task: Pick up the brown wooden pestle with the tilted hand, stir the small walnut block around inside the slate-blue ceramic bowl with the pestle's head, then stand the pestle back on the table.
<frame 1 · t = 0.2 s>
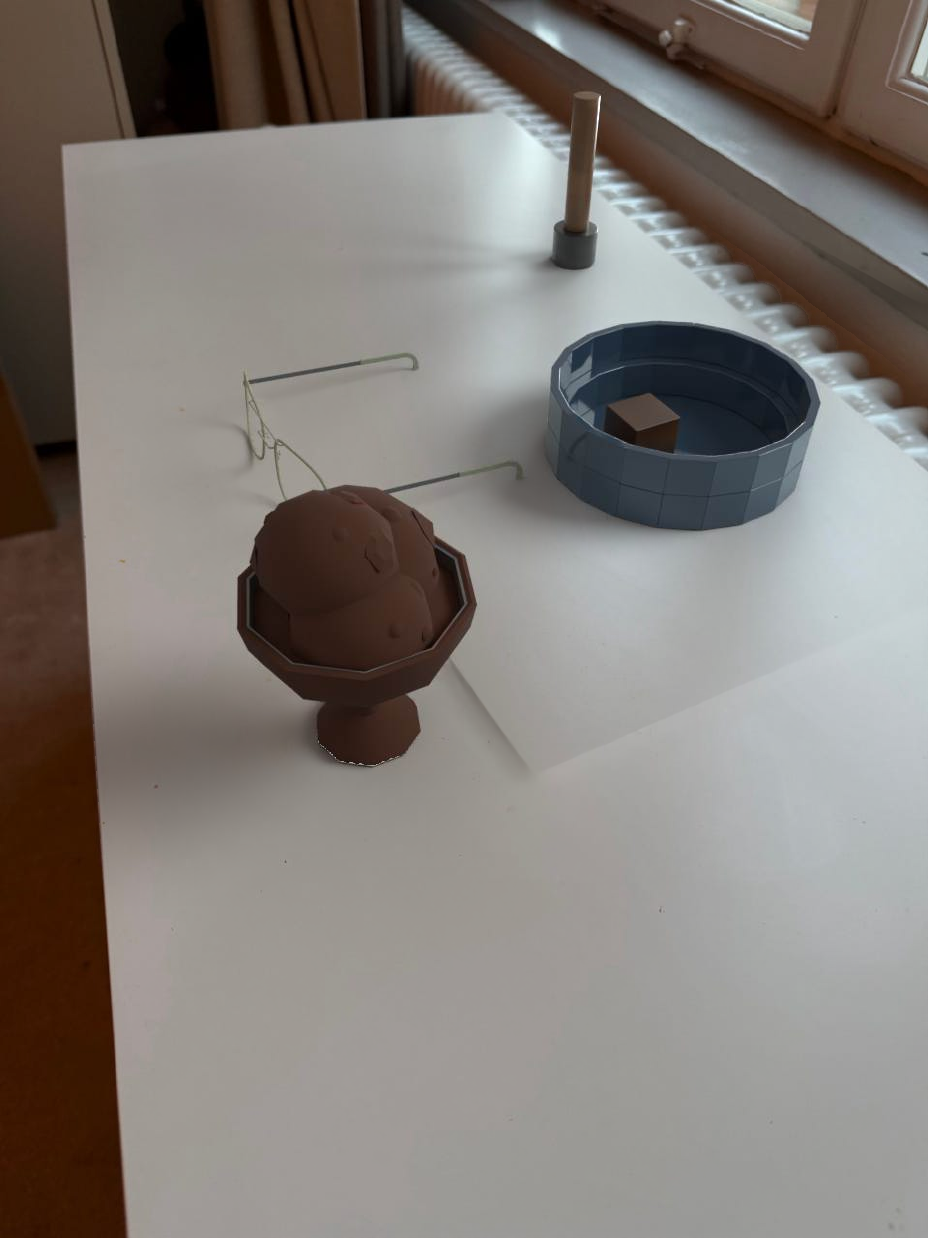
bowl: (669, 460, 69), on the table
eyeglasses: (372, 457, 69), on the table
ice cream bowl: (368, 727, 52), on the table
block: (636, 455, 68), point 1 cm above the table, touching bowl
pestle: (573, 259, 92), on the table
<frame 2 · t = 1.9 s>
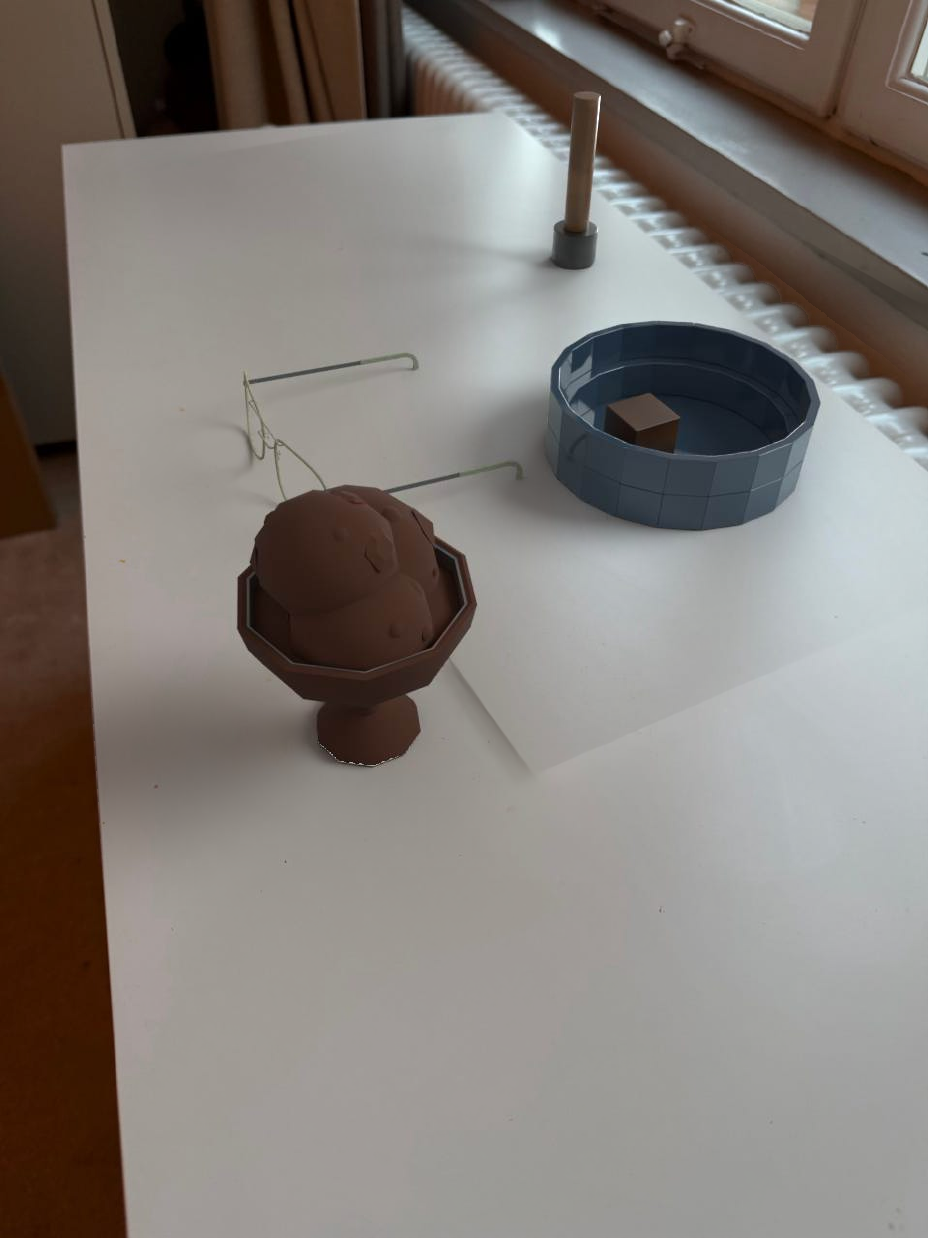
nothing on the table moved.
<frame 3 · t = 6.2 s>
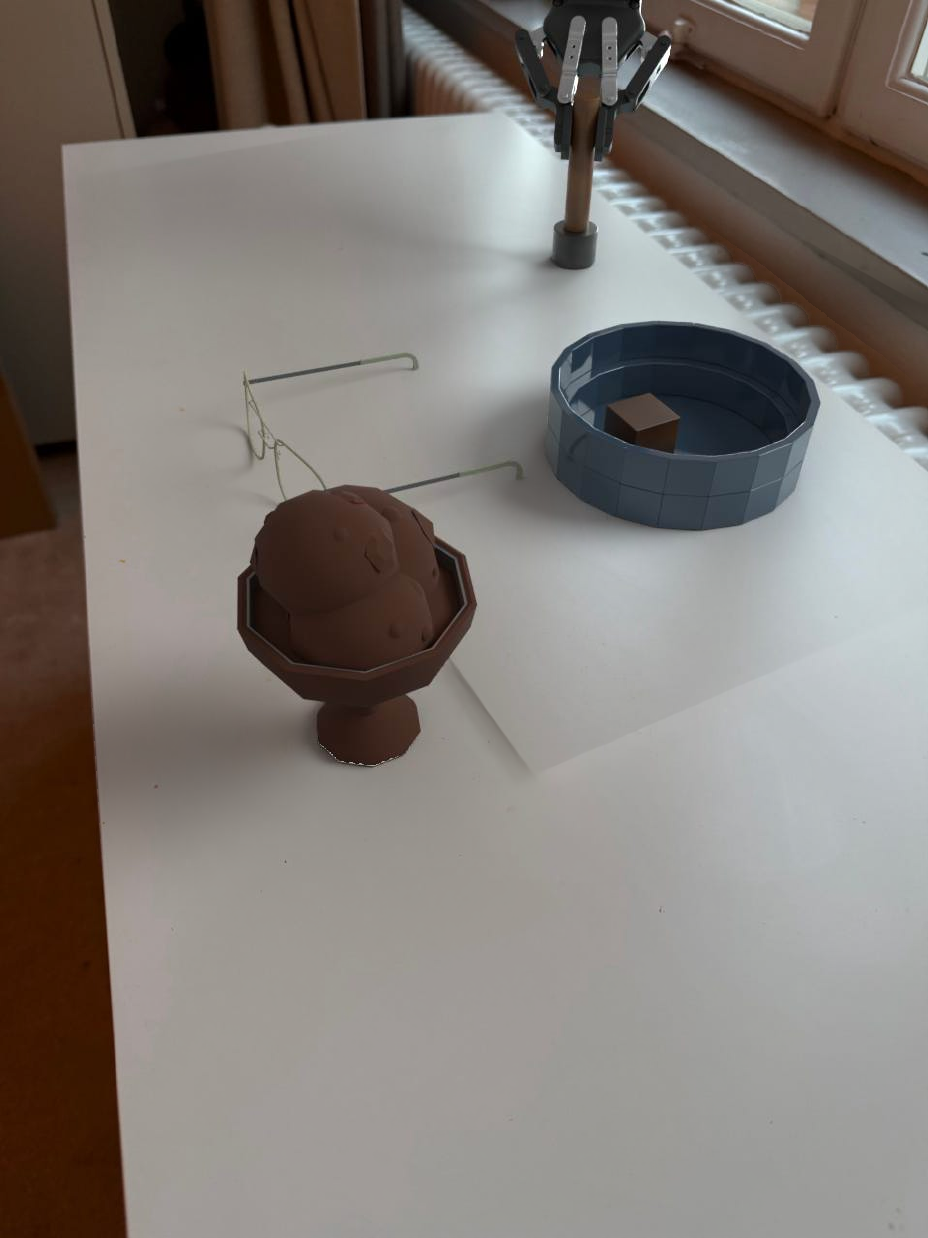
hand: (581, 155, 84), 10 cm above the table, tool tilted 45°, fingers closed on pestle, 2 cm apart
pestle: (573, 259, 92), on the table, touching gripper
everything else where it was.
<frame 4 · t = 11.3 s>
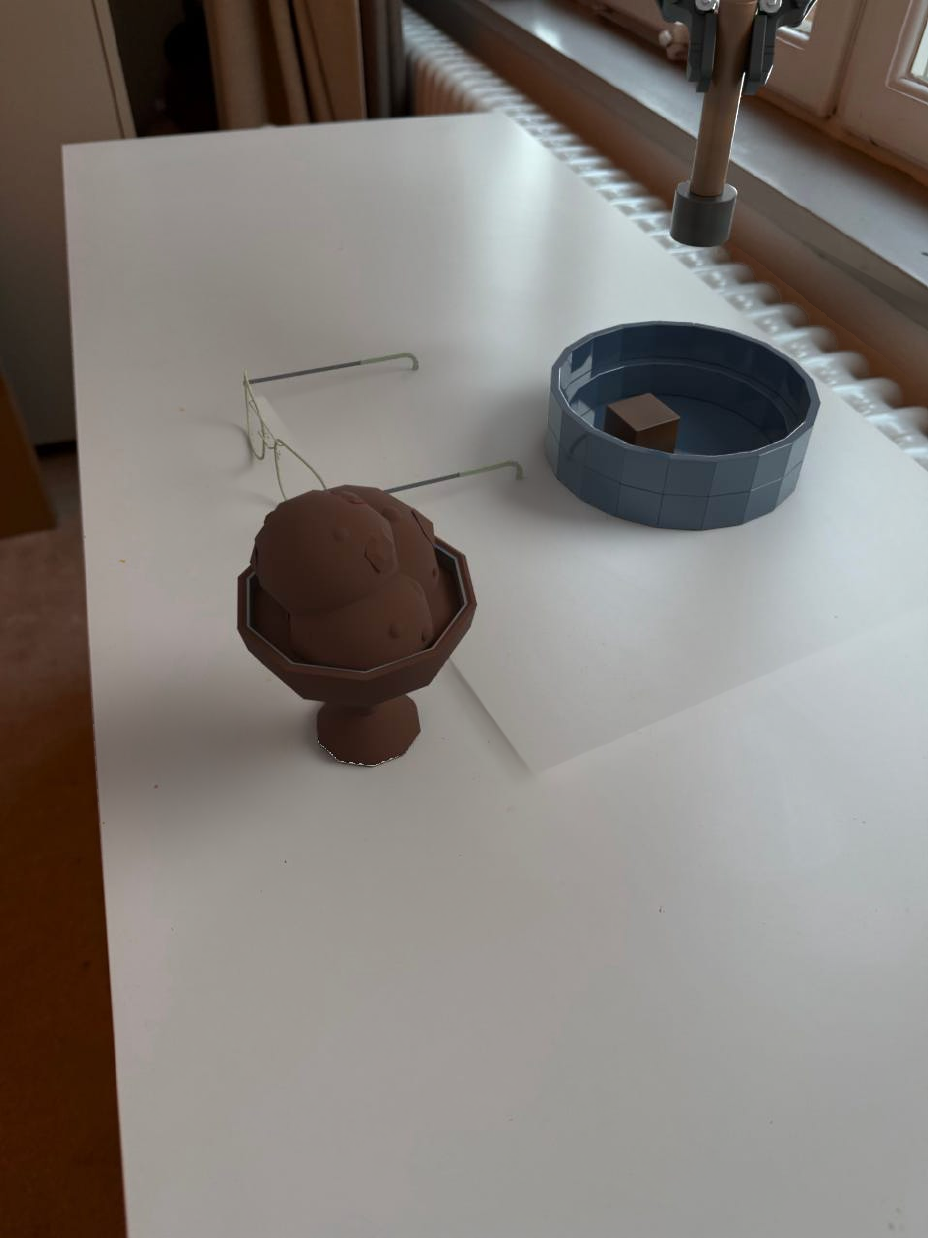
hand: (728, 85, 59), 22 cm above the table, tool tilted 45°, fingers closed on pestle
pestle: (698, 234, 68), point 12 cm above the table, touching gripper
everything else where it was.
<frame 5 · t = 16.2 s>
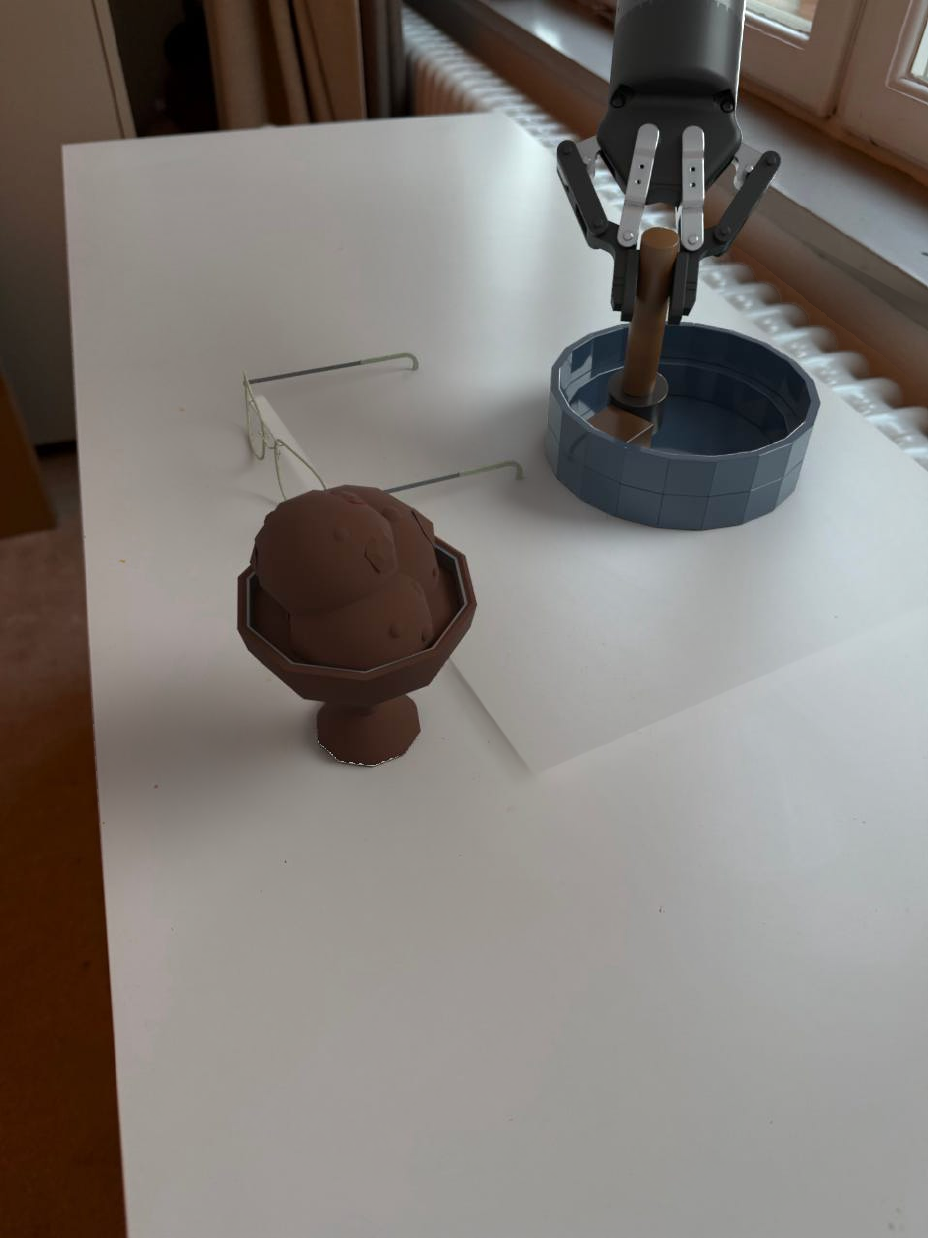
hand: (651, 318, 59), 12 cm above the table, tool tilted 45°, fingers closed on pestle, 2 cm apart
block: (610, 468, 67), point 1 cm above the table, touching bowl, pestle
pestle: (633, 419, 69), point 2 cm above the table, tilted 10°, touching block, gripper
everything else where it was.
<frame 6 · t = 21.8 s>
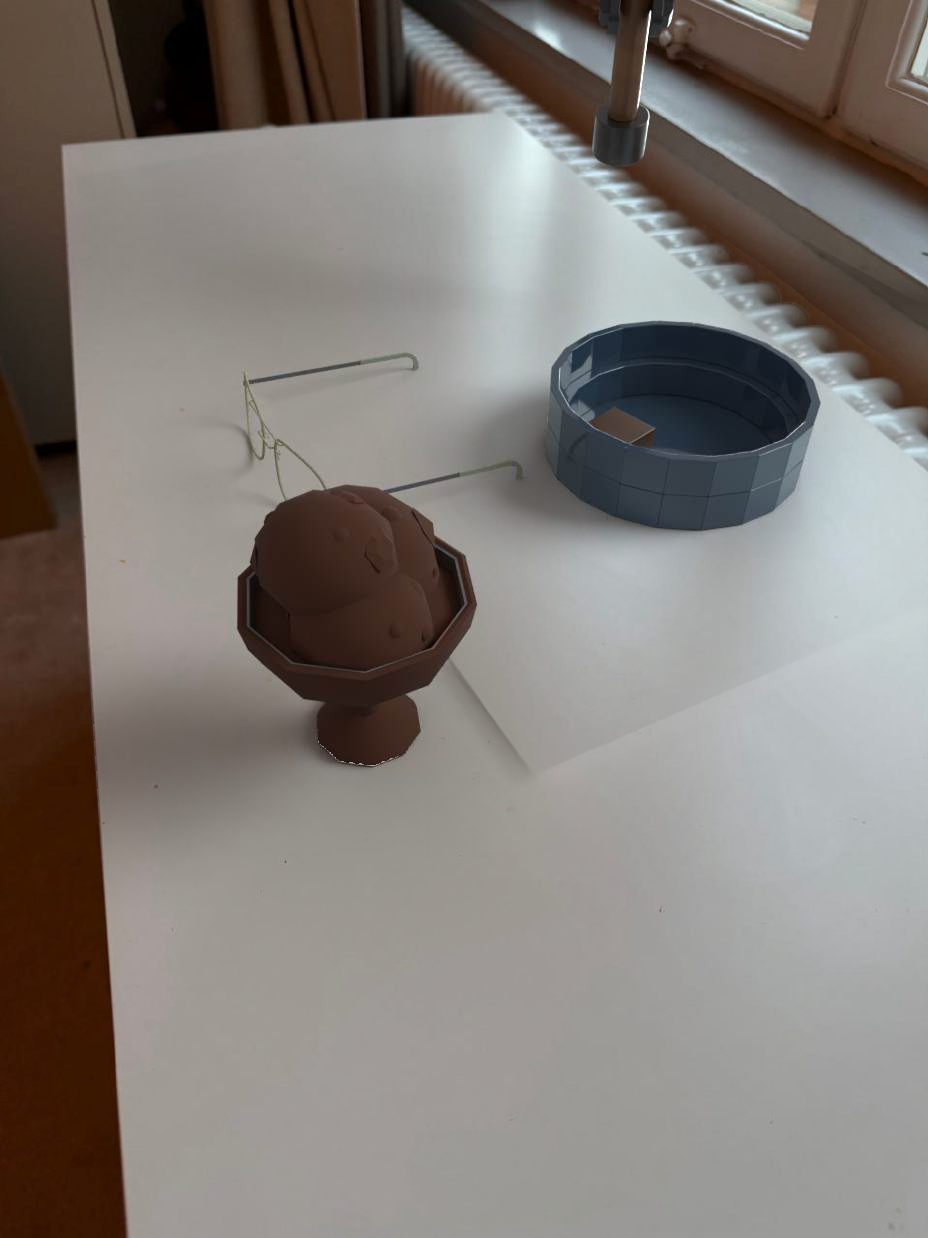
hand: (634, 27, 67), 22 cm above the table, tool tilted 45°, fingers closed on pestle
block: (611, 471, 67), point 1 cm above the table, touching bowl
pestle: (618, 151, 77), point 12 cm above the table, tilted 12°, touching gripper
everything else where it was.
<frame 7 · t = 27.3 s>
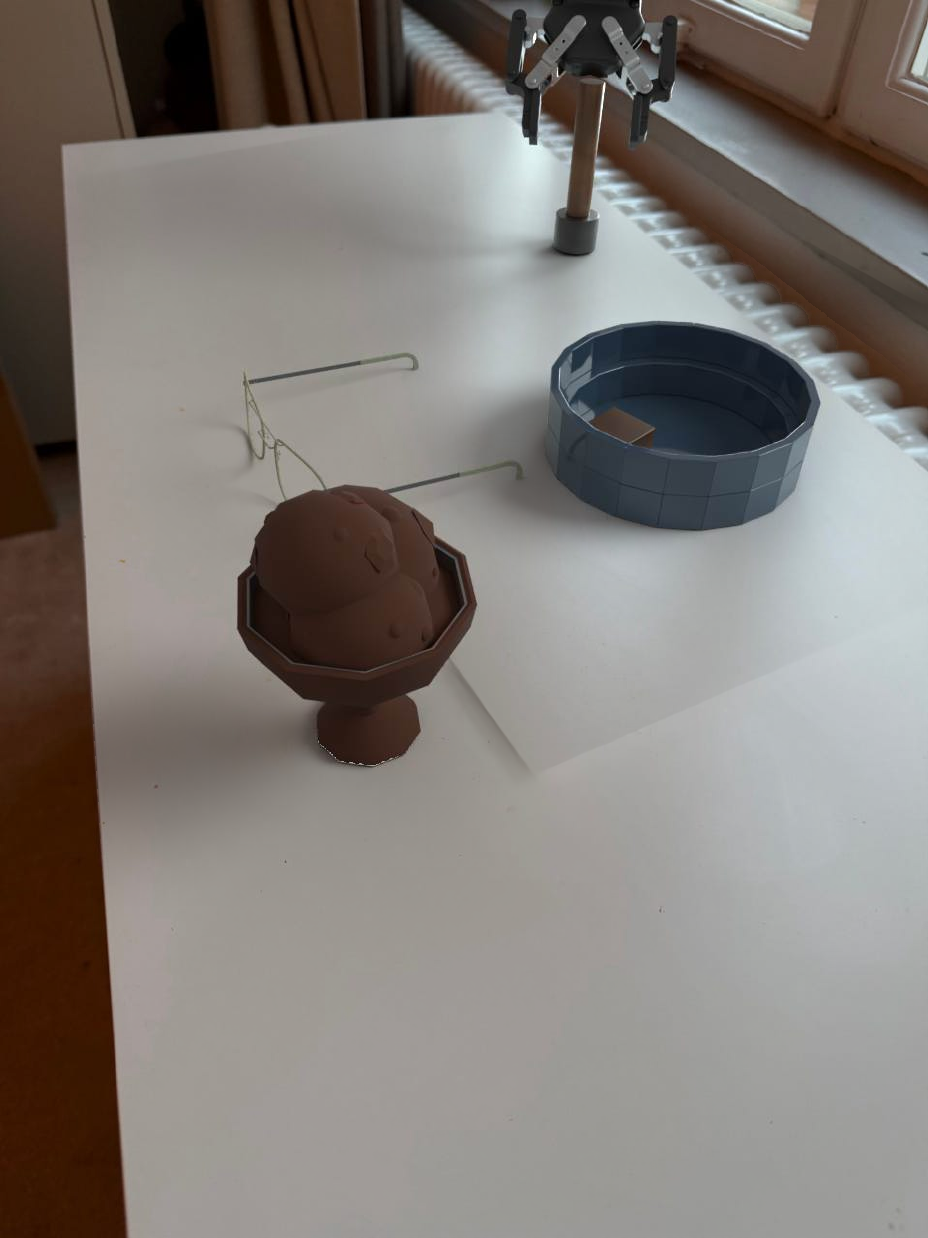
hand: (583, 143, 84), 11 cm above the table, tool tilted 45°, fingers open, 8 cm apart
pestle: (574, 246, 94), on the table
everything else where it was.
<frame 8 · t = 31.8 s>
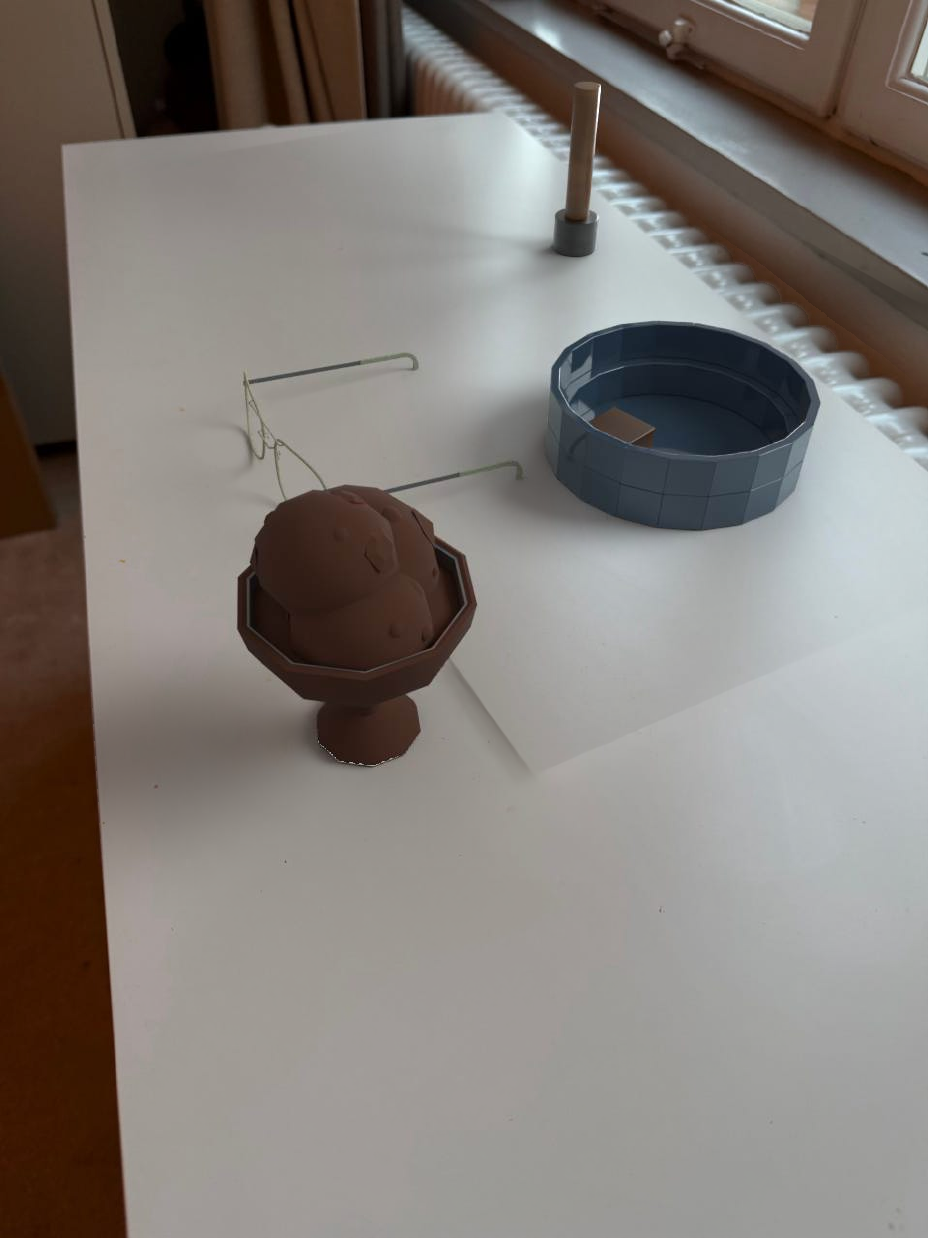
nothing on the table moved.
at the end: block moved 2.7 cm from its start; block inside the target area in the bowl (5.0 cm from its centre), point 0.8 cm above the bowl's base; pestle tilted 0° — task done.
